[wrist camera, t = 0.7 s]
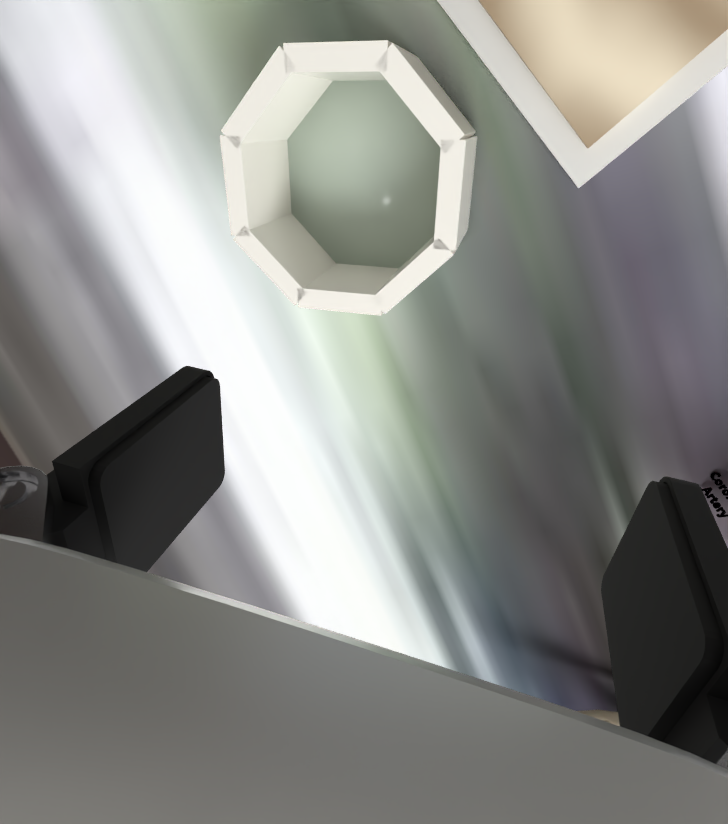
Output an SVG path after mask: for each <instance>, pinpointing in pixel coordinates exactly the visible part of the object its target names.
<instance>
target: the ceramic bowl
mask: <svg viewBox="0 0 728 824" xmlns="http://www.w3.org/2000/svg"><path fill="white" fill-rule="evenodd" d="M221 132H222V133H223V134H224V135H220V143H221V152H222V160H223V169H224V178H225V186H226V195H227V204H228V213H229V221H230V230H231V235H233V236H235V238H234V239H233V240H234V241H235V242H236V243H237V244H238V245H239V246H240V247H241V249H242V250H243V251H244V252H245V253H246V254H247V255H248V256H249V257H250V258H251V259H252V260H253V261H254V262H255V264H256V265H257V266H258V267H259V268H260V269H261V270H262V271H263V272H264V273H265V274H266V275H267V276H268V278H269V279H270V280H271V281H272V282H273V283H274V284H275V285H276V286H277V287H278V288H279V289H280V290H281V291H282V293H283V294H284V295H285V296H286V297H287V298H288V299H289V300H290V301H291V302H292V303H293V304H294V305H296V304H297V303H298V307H299V308H309V309H319V310H330V311H340V312H350V313H360V314H370V315H380V316H381V315H382V313H384V314H386V313H387V312H388V311H389V310H390V309H392V308H393V307H394V306H395V305H396V304H397V303H398V302H400V301H401V300H402V299H403V298H404V297H405V296H407V295H408V294H409V293H410V292H411V291H412V290H413V289H415V288H416V287H417V286H418V285H419V284H420V283H422V282H423V281H424V280H425V279H426V278H427V277H428V276H430V275H431V274H432V273H433V272H434V271H435V270H437V269H438V268H439V267H440V266H441V265H442V264H443V263H445V262H446V261H447V260H448V259H449V258H450V257H452V256H453V255H454V253H455V251H456V250H457V248H458V246H459V244H460V242H461V241H462V239H463V237H464V235H465V234H466V231H467V230H468V223H469V213H470V203H471V193H472V184H473V174H474V164H475V154H476V145H477V136H472V135H473V134H474V133H475V132H476V131H475V130H474V128H473V127H472V126H471V125H470V123H469V122H468V121H467V119H466V118H465V117H464V116H463V114H462V113H461V112H460V110H459V109H458V108H457V107H456V105H455V104H454V103H453V101H452V100H451V99H450V98H449V96H448V95H447V94H446V93H445V91H444V90H443V89H442V87H441V86H440V85H439V84H438V82H437V81H436V80H435V78H434V77H433V76H432V75H431V73H430V72H429V71H428V69H427V68H426V67H425V66H424V64H423V63H422V62H421V60H420V59H419V58H418V57H417V56H415V55H414V54H412V53H410V52H408V51H406V50H405V49H403V48H401V47H399V46H398V45H396V44H394V43H392V42H390V41H388V40H379V41H341V42H304V43H283V47H282V46H278V48H277V49H276V51H275V52H274V54H273V55H272V56H271V58H270V59H269V61H268V62H267V64H266V65H265V67H264V68H263V70H262V71H261V72H260V74H259V75H258V77H257V78H256V80H255V81H254V83H253V84H252V86H251V87H250V89H249V90H248V91H247V93H246V94H245V96H244V97H243V99H242V100H241V102H240V103H239V105H238V106H237V108H236V109H235V110H234V112H233V113H232V115H231V116H230V118H229V119H228V121H227V122H226V124H225V125H224V127H223V128H222V129H221Z"/></svg>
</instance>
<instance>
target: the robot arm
mask: <svg viewBox="0 0 728 824" xmlns="http://www.w3.org/2000/svg"><path fill="white" fill-rule="evenodd" d="M52 463H53V467H54V470H53V471H52V472H50V473H49V474H47V475H45V474H44V473H43V472H42V471H41V470H39V469H36V468H33V467H27V466H11V467H4V468H0V824H728V548H727V546H726V544H725V541H724V539H723V537H722V535H721V532H720V530H719V528H718V526H717V523H716V521H715V519H714V516H713V514H712V512H711V510H710V507H709V505H708V503H707V501H706V498H705V496H704V494H703V492H702V489H701V487H700V486H699V484H696V483H692V482H688V481H684V480H679V479H675V478H671V477H663V478H662V479H661V480H660V482H655V481H652V482H650V483H649V485H648V486H647V488H646V490H645V492H644V494H643V496H642V498H641V500H640V502H639V504H638V506H637V508H636V510H635V512H634V515H633V517H632V519H631V521H630V523H629V525H628V527H627V529H626V531H625V533H624V535H623V537H622V539H621V541H620V543H619V545H618V547H617V549H616V551H615V553H614V555H613V557H612V559H611V561H610V563H609V566H608V568H607V570H606V572H605V574H604V576H603V580H602V587H601V592H602V600H603V607H604V615H605V622H606V629H607V636H608V644H609V651H610V658H611V666H612V673H613V680H614V687H615V695H616V702H617V709H618V717H619V724H620V726H617V725H614V724H611V723H609V722H606V721H603V720H600V719H597V718H594V717H591V716H588V715H585V714H582V713H580V712H577V711H574V710H571V709H568V708H565V707H562V706H559V705H556V704H553V703H550V702H548V701H545V700H542V699H539V698H536V697H533V696H530V695H527V694H524V693H520V692H517V691H514V690H511V689H508V688H505V687H502V686H499V685H496V684H493V683H490V682H487V681H484V680H481V679H478V678H475V677H472V676H469V675H465V674H462V673H459V672H456V671H453V670H450V669H447V668H444V667H441V666H438V665H435V664H432V663H429V662H426V661H423V660H420V659H417V658H414V657H410V656H407V655H404V654H401V653H398V652H395V651H392V650H389V649H386V648H383V647H380V646H377V645H373V644H370V643H367V642H364V641H361V640H358V639H355V638H352V637H349V636H345V635H342V634H339V633H336V632H333V631H330V630H327V629H324V628H321V627H318V626H314V625H311V624H308V623H305V622H302V621H299V620H296V619H293V618H289V617H286V616H283V615H280V614H277V613H274V612H271V611H268V610H264V609H261V608H258V607H255V606H252V605H249V604H246V603H243V602H239V601H236V600H233V599H230V598H227V597H223V596H220V595H217V594H214V593H211V592H208V591H204V590H201V589H198V588H195V587H192V586H189V585H185V584H182V583H179V582H176V581H173V580H170V579H166V578H163V577H160V576H157V575H154V574H151V573H147V571H148V570H149V569H150V568H151V567H152V565H153V564H154V563H155V562H156V561H157V560H158V558H159V557H160V556H161V555H162V554H163V553H164V551H165V550H166V549H167V548H168V547H169V545H170V544H171V543H172V542H173V541H174V540H175V538H176V537H177V536H178V535H179V534H180V533H181V531H182V530H183V529H184V528H185V527H186V525H187V524H188V523H189V522H190V521H191V520H192V518H193V517H194V516H195V515H196V514H197V513H198V511H199V510H200V509H201V508H202V507H203V506H204V504H205V503H206V502H207V501H208V500H209V498H210V497H211V496H212V495H213V494H214V493H215V491H216V490H217V489H218V488H219V487H220V485H221V483H222V481H223V478H224V474H225V467H224V449H223V432H222V415H221V397H220V384H219V381H218V380H217V379H215V378H214V376H213V374H212V372H210V371H208V370H203V369H199V368H195V367H190V366H185V367H183V368H182V369H180V370H179V371H177V372H176V373H175V374H173V375H172V376H170V377H169V378H168V379H166V380H165V381H163V382H162V383H161V384H159V385H158V386H156V387H155V388H154V389H152V390H151V391H149V392H148V393H147V394H145V395H144V396H142V397H141V398H140V399H138V400H137V401H135V402H134V403H133V404H131V405H130V406H128V407H127V408H126V409H124V410H123V411H121V412H120V413H119V414H117V415H116V416H114V417H113V418H112V419H110V420H109V421H107V422H106V423H105V424H103V425H102V426H100V427H99V428H98V429H96V430H95V431H93V432H92V433H91V434H89V435H88V436H87V437H85V438H84V439H82V440H81V441H80V442H78V443H77V444H75V445H74V446H73V447H71V448H70V449H68V450H67V451H66V452H64V453H63V454H61V455H60V456H59V457H57V458H56V459H54V460H53V461H52Z"/></svg>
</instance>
